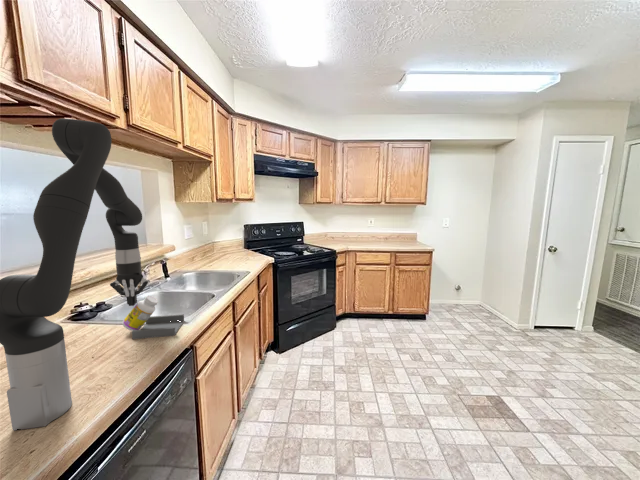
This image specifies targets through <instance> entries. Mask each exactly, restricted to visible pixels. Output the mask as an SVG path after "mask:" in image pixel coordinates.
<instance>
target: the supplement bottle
mask: <svg viewBox="0 0 640 480" xmlns="http://www.w3.org/2000/svg"><path fill="white" fill-rule="evenodd" d="M158 303H159V300H158V299H157V298H156V297H155V296H152V295H146V297H145V298H144V299H143V300H139V301H137V303H136V304H135V305H134V306H133V308H132V309H131V311H130V312H129V313H128V314H127V315H126V316H125V318H124V319H123V320H122V326H123V327H124V328H125V329H126V330H128V331H131V332H132V331H133V330H141V328H142V327H143V326H144V325H145V324H146V321H147V320H148V318H149V317H151V316H153V313H154V312H155V310H156V306H157V305H158Z"/></svg>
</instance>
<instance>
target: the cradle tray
mask: <svg viewBox="0 0 640 480" xmlns="http://www.w3.org/2000/svg"><path fill="white" fill-rule="evenodd" d="M177 320H179V321H181V322H179V321H177ZM170 321H171V322H170ZM183 321H185V314H182V313H181V314H169V315H168V314H166V315H156V316H155V315H154V316H153V315H151V316H150V317H149V318H148V320H147V321H146V322H145V323H144V325H143V326H142V327H141V328H140V329H139V330H133V331H131V338H132V340H140V339H150V338H161V337H175V335H176V334H177V333H178V331H179V330H180V328H181V326H182V325H183V323H184V322H183Z"/></svg>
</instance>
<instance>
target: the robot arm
mask: <svg viewBox="0 0 640 480" xmlns="http://www.w3.org/2000/svg"><path fill="white" fill-rule="evenodd" d="M51 135H52V138H53V141H54V142H55V144H56V146H57V148H58V149H59V150H60V151H61V152H62V153H63V155H64V156H65V157H66V158H67V160H68V161H70V163H72V166H71V167H70V168H69V169H67V170H65V172H63V173H61V174H60V175H59V176H57V177H56V178H55V179H53V180H52V181H51V182H49V183H48V184H47V185H46V186H45V187H44V188H43V189H42V191H41V193H40V194H39V197H38V199H37V203H36V206H35V207H34V210H33V211H34V212H33V215H32V216H33V217H32V218H33V219H32V220H33V223H34V227H35V230H36V232H37V234H38V237H39V239H40V242H41V245H42V257H41V261H40V265H39V268H38V270H37V273H36V274H12V275H7V276H4V277H3V278H0V344H1V346H3V348H4V349H3V350H4V354H5V362H6V369H7V375H8V383H9V387H10V388H8V389H7V391H6V397H7V403H8V410H9V416H10V423H11V429H13V430H14V431H18V430H17V429H21V430H26V429H35V428H42V427H46V426H48V424H49V423H51V422H52V421H54V420H56V419H58V418H60V417H61V416H62V415H64V414H65V413H67V411H68V410H70V408H72V405H73V400H72V392H71V384H70V375H69V369H68V368H69V365H68V357H67V350H66V342H65V341H66V340H65V333H64V329H63V326H62V325H61V324H58V323H56V322H54V321H51V320H49V319H47V317H51V316H54V315H56V314H58V313H59V312H60V311H61V310H62V309H63V308H64V306H65V305H66V303H67V301H68V298H69V296H70V291H71V287H72V283H73V282H72V281H73V274H74V269H75V262H76V257H77V253H78V249H79V245H80V242H81V237H82V233H83V230H84V227H85V225H86V223H87V218H88V216H89V212H90V207H91V204H92V201H93V196H94V194H95V192H96V193H97V195H98V197H99V199H100V200H101V202H102V203H103V205H104V206H105V207H106V208H107V209H106V212H105V220H106V222H107V224H108V226H109V228H110V230H111V232H112V233H111V234H112V236H113V238H114V239H113V241H114V249H115V254H114V255H115V256H114V258H115V268H116V275H117V276H116V279H115V280H114V281H112V282H111V283H110V284H109V286H110V287H111V288H112V289H113V290H115V291H116V292H117V294H118V295H120V296H125V297H126V304H127V305H128V307H135V306H136V304H137V303H138V297H137V295H138V296H139V295H140V294H141V293H143V291H144V290H145V289H146V287H147V286H148V285H149V283H150V282H151V280H150V279H146V278H145V277H144V275H143V273H142V261H141V260H142V257H141V252H140V247H139V245H140V244H139V236H138V234H137V233H136V232H134V231H133V232H132V231H128V230H126V229H124V227H129V226H131V227H133V226H134V227H135V226H138V225H140V224H141V223H142V221H143V213H142V211H141V209H140V208H139V207H138V205H137V204H135V203H134V202H133V200H132V199H130V197H128V195H127V193H126V192H125V188H124V187H123V185H122V184H121V182H120V181H119V180H118V179H117V178H116V177H115V176H114V175H113V174H111V173H110V172H109V171H107V170H106V169H105V168H104V167H105V164H106V162H107V160H108V158H109V155H110V153H111V152H110V151H111V149H112V143H113V142H112V134H111V131H110V129H109V128H108V127H107V126H106V125H105V124H102V123H100V122H96V121H92V120H91V121H90V120H82V119H81V120H80V119H74V118H58V119H56V120H55V121H54V122H53V124H52V126H51ZM140 283H141V286H138V285H140ZM138 287H139V288H138ZM13 430H12V431H13Z"/></svg>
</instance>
